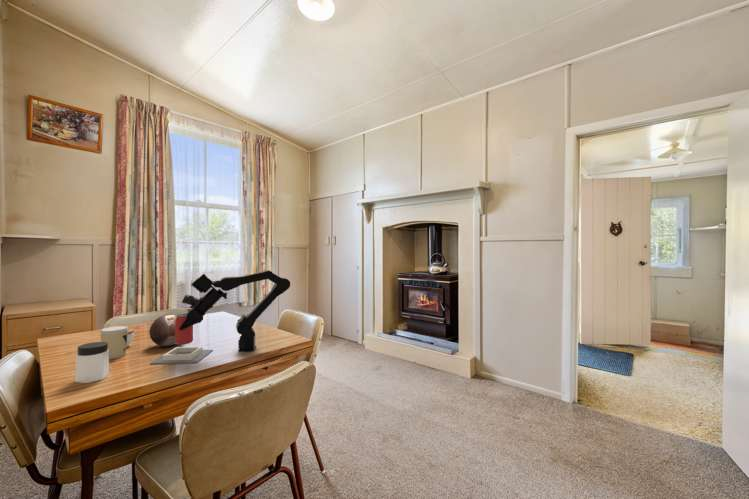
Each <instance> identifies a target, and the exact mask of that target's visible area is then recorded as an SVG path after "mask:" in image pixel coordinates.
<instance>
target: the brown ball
mask: <svg viewBox="0 0 749 499" xmlns="http://www.w3.org/2000/svg"><path fill="white" fill-rule="evenodd" d="M177 315H178V314H173V313H171V314H170V313H169V314H164V315H161V316H159V317H157V318H156V319H154V321H153V322H152V324H151V325H150V328H149V337H150V339H151V341H152V343H154V344H156V345H158V346H161V347H172V346H174V345H177V344H176V343H175V320H176V317H177Z"/></svg>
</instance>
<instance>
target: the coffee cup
mask: <svg viewBox="0 0 749 499" xmlns="http://www.w3.org/2000/svg"><path fill="white" fill-rule="evenodd" d="M127 332H128V326H126V325H115V326H108V327H104V328H102V329H101V330H100V332H99V333H100V342H107V343H108V349H109V360H113V359H119V358H123V357H125V356H126V351H127V347H126V344H127Z"/></svg>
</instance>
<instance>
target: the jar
mask: <svg viewBox="0 0 749 499" xmlns="http://www.w3.org/2000/svg"><path fill="white" fill-rule="evenodd" d="M109 365H110V359H109V349H108V343H107V342H101V341H95V342H93V341H92V342H88V343H84V344H81V345H78V346H77V354H76V355H75V383H78V384H79V383H80V384H90V383H94V382H97V381H102V380H104V379H105V378H106V377H108V376H109V374H110V368H109V367H110V366H109Z"/></svg>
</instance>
